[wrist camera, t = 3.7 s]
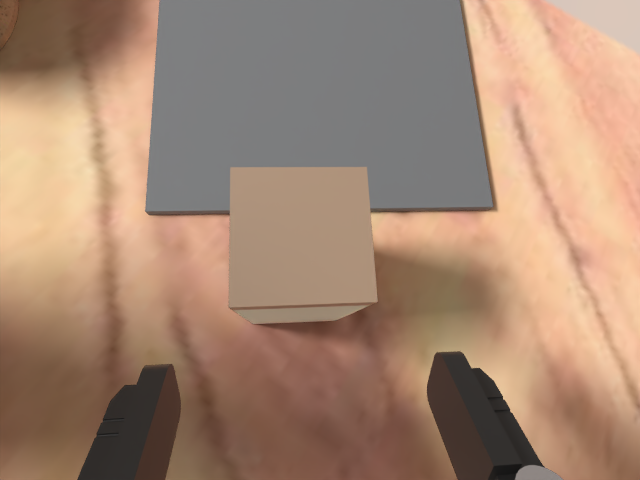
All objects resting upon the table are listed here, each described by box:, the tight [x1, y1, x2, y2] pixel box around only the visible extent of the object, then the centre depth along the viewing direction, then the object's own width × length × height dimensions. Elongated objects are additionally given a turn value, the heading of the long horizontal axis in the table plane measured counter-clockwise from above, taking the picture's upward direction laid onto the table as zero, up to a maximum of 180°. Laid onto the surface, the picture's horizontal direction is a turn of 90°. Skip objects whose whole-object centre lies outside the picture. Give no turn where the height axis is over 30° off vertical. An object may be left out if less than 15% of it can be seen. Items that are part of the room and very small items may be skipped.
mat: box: [145, 0, 493, 215], centre depth 25 cm, size 20×16×1 cm
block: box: [229, 167, 378, 324], centre depth 17 cm, size 4×4×10 cm
